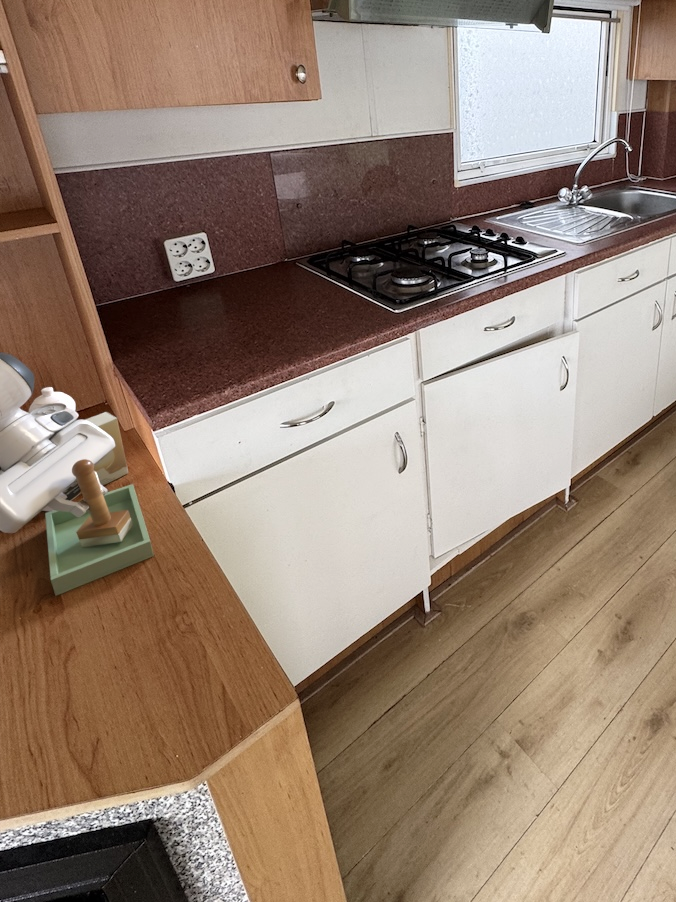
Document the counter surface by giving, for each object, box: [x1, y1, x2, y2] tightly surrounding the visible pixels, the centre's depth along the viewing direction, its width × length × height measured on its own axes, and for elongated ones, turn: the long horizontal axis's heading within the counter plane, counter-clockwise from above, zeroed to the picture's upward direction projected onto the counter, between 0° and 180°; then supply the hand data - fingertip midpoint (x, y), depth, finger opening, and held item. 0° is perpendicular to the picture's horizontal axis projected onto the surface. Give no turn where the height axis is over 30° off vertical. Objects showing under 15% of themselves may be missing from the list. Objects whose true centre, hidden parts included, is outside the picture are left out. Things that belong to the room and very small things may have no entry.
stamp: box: [72, 459, 133, 547], centre depth 91 cm, size 6×4×14 cm, turn 97°
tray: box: [44, 483, 155, 597], centre depth 94 cm, size 18×13×3 cm
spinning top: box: [28, 386, 77, 413], centre depth 119 cm, size 8×8×12 cm
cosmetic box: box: [85, 411, 129, 487], centre depth 107 cm, size 6×4×12 cm
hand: (94, 504), depth 92 cm, fingers closed on stamp, 2 cm apart
